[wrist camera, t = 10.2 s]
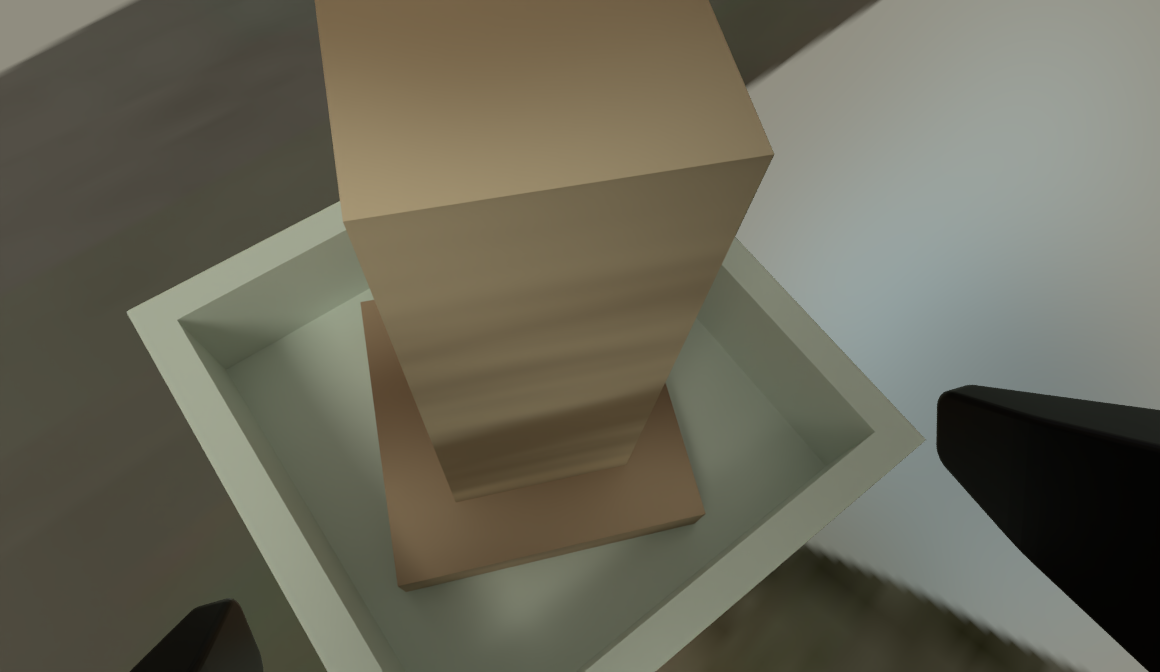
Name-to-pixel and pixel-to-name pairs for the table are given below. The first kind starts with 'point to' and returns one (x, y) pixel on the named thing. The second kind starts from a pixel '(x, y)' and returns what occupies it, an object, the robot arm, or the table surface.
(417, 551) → the wooden block tower
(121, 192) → the table surface
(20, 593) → the table surface
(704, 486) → the box
